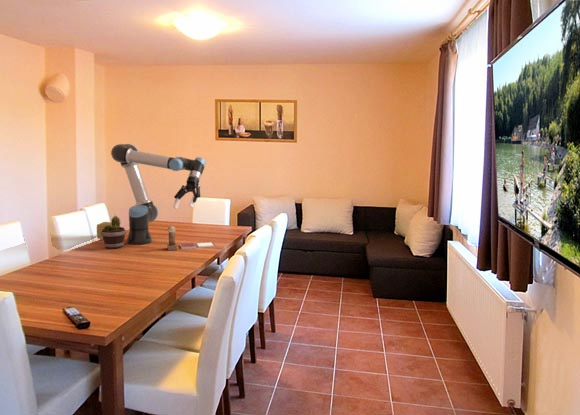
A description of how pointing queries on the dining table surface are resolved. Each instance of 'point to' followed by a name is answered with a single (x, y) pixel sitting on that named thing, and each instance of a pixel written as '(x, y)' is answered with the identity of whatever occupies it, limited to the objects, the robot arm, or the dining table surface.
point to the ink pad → (187, 245)
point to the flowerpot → (113, 234)
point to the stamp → (171, 239)
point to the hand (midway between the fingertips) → (182, 207)
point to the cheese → (101, 226)
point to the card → (205, 244)
